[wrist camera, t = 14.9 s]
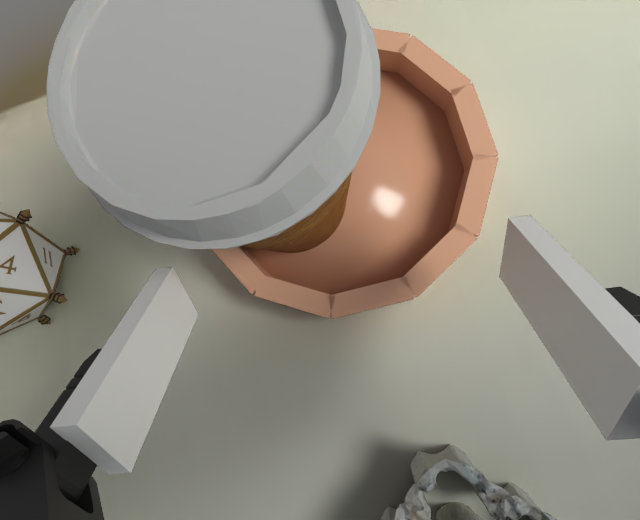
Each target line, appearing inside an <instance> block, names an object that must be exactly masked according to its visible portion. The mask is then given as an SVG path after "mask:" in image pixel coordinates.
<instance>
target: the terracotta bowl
mask: <svg viewBox="0 0 640 520" xmlns="http://www.w3.org/2000/svg"><path fill="white" fill-rule="evenodd" d="M372 30H373V32H374V36H375V41H376V45H377V50H378V55H379V59H380V98H379V102H378V107H377V112H376V116H375V121H374V125H373V129H372V132H371V135H370V137H369V139H368V141H367V143H366V145H365V147H364V149H363V152H362V154H361V156H360V158H359V160H358V162H357V164H356V166H355V168H354V169H353V171H352V175H351V180H350V185H349V190H348V195H347V200H346V206H345V211H344V215H343V218H342V220H341V222H340V224H339V226H338V227H337V229H336V230H335V232H334V233H333V234H332V235H331V236H330V237H329V238H328V239H327V240H326V241H324V242H323V243H321V244H320V245H318V246H317V247H315V248H312V249H310V250H307V251H303V252H298V253H283V252H277V251H270V250H264V249H258V248H251V247H245V246H239V247H236V248H232V249H212V250H213V252H214V253H215V254H216V255H217V256H218V257H219V258H220V259H221V260H222V262H223V263H224V264H225V265H226V266H227V267H228V268H229V269H230V271H231V272H232V273H233V274H234V275H235V276H236V277H237V278H238V280H239V281H240V282H241V283H242V284H243V285H244V286H245V287H246V288H247V290H248V291H249V292H250V293H251V294H255V295H254V296H256V297H260V298H263V299H266V300H269V301H273V302H276V303H279V304H283V305H286V306H289V307H293V308H296V309H299V310H302V311H306V312H309V313H312V314H316V315H319V316H322V317H326V318H329V319H330V318H333V319H334V318H338V317H342V316H346V315H350V314H354V313H358V312H363V311H367V310H371V309H375V308H379V307H383V306H387V305H391V304H395V303H400V302H404V301H408V300H412V299H414V298H416V297H418V296H419V295H420V294H421V293H422V292H423V291H424V290H425V289H426V288H427V287H428V286H429V285H430V284H431V283H432V282H433V281H434V280H435V279H436V278H437V277H438V276H439V275H440V274H442V273H443V272H444V271H445V270H446V269H447V268H448V267H449V266H450V265H451V264H452V263H453V262H454V261H455V260H456V259H457V258H458V257H459V256H460V255H461V254H462V253H463V252H464V251H465V250H466V249H467V248H468V247H469V246H470V245H471V244H472V243H473V242H474V241H475V240H476V239H477V238H476V237H478V236H479V234H480V230H481V226H482V222H483V218H484V214H485V210H486V206H487V202H488V198H489V194H490V189H491V185H492V181H493V177H494V173H495V169H496V165H497V161H498V158H497V157H496V156H497V155H498V153H497V150H496V147H495V144H494V141H493V138H492V136H491V133H490V130H489V127H488V124H487V122H486V119H485V116H484V113H483V110H482V107H481V105H480V102H479V99H478V96H477V93H476V91H475V88H474V85H473V83H472V84H470V81H471V80H470V79H468V78H467V77H466V76H465V75H463V74H462V73H461V72H459V71H458V70H457V69H456V68H454V67H453V66H452V65H450V64H449V63H448V62H447V61H445V60H444V59H443V58H442V57H440V56H439V55H438V54H436V53H435V52H434V51H433V50H431V49H430V48H429V47H427V46H426V45H425V44H424V43H422V42H421V41H420V40H418V39H417V38H416V37H415V36H412V37H411V38H410V34H406V33H400V32H393V31H386V30H379V29H373V28H372ZM409 38H410V39H409Z"/></svg>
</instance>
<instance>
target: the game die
mask: <svg viewBox="0 0 640 520" xmlns="http://www.w3.org/2000/svg"><path fill="white" fill-rule="evenodd" d="M17 218H18V219H17ZM17 218H15V217H12V216H10V215H7V214H5V213H3V212H0V335H1V334H3V333H6V332H8V331H10V330H12V329H15V328H17V327H19V326H22V325H24V324H26V323H28V322H31V321H33V320H35V319H38V320H39V321H38V322H41V324H50V318H49V317H47V316H46V315H42V314H43V313H44V311H45V309H46V308H47V306H48V304H49V303H50V301H51V300H52V301H55V302H58V303H61V302H65V301H67V299H66V298H65V296H64V294H60V293H55V290H56V287H57V283H58V280H59V276H60V273H61V269H62V266H63V262H64V259H65V256H66V255H72V254H75V255H76V253H77V252H78V250H79V248H75V247H73V246H72V247H71V248H69V247H68V248H67V249H66V250H63V249H61V248H60V247H58V246H57V245H56V244H54V243H53V242H51V241H50V240H49V239H47V238H46V237H44V236H43V235H42V234H40V233H39V232H37V231H36V230H35V229H33V228H32V227H30V226H29V225H28V224H26V223H25V222H26V221H29V218H32V216H31V215H30V210H29V209H28V210H24V211H20V213H19V214H18V216H17Z"/></svg>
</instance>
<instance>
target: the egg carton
mask: <svg viewBox="0 0 640 520" xmlns="http://www.w3.org/2000/svg"><path fill="white" fill-rule="evenodd" d="M410 468H411V471H412V475H413V478H414V481H415V484H413V485H412V487H411V488H410V490H409V491H408V493H407V495H406V497H405V502H404V503H401V504H399V506H398V508H397V509H394V508H392V507H389V506H388V507H387V508H386V510H385V512H384V514H383V515H382V517H381V519H380V520H431V509H430V507H429V505H428V503H427V501H426V499H425V496H424V493H423V491H425V492H429V491H430V490H431V489H432V490H435V488H436V486H437V483H436V476H437V474H438V472H440V471H443V472H446V471H450V470H454V471H456V472H457V473H459V474H460V475H461V476H462V477H463V478H464V479H465V480H466V481H468V482H469V483H471V484H472V486H473V488H474V490H475V491H476V493H477V495H478V497H479V498H480V499H481V501H482V502H483V503H484V505H485V506H486V508H487V510H488V511H489V513H490V514H491V515H492V516H493V517H495V518H496V519H498V520H505V518H506V517H510V518H511V519H512V520H518V519H519V518H520V517H521V516H522V515H528V516H529V517H530V519H531V520H557V519H556V518H554V517H552V516H551V515H549V514H548V513H545V512H542V511H541V509H540V508H539V507H538V506H537V505H536V504H535V503H534V502H533V500H532V499H531V498H530V497H529V495H528V493H527V492H525V491H524V490H523V489H521V488H519V487H517V486H516V485H515V484H513V483H510V482H509V483H508V484H507V485H506V486H505V487H504V488H501V487H499V486H497V485H495V484H493V483H491V482H489V481H487V480H486V479H485V477H484V475H483V474H482V473H480V472H479V471H478V470H477V469H475V468H474V466H473V465H472V463H471V462H470V460H469V458H468V457H467V455H466V454H465V453H464V452H463V451H461V450H460V449H458V448H457V447H455V446H454V445H451V444H449V445H448V446H447V447H446V448H445V449H444V450H442V451H441V452H438V453H436V454H429V453H425V452H422V451H418V452H417V454H416V455H415V457H414V459H413V461H412V463H411V465H410ZM478 517H479V516H478ZM478 517H477V515H476V514H475V513H474V512H473V511H472V509H471V508H470V507H468V506H466V505H464V504H461V503H456V502H453V503H447V504H445V505H443V506H442V507H440V509H439V510H438V511H437V513H436V515H435V520H479V519H478ZM479 518H480V517H479ZM480 519H481V518H480ZM481 520H482V519H481Z"/></svg>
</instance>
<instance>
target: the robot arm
mask: <svg viewBox="0 0 640 520" xmlns="http://www.w3.org/2000/svg"><path fill="white" fill-rule="evenodd" d="M499 277H500V278H501V280H502V281H503V283H504V284H505V286H506V287H507V289H508V290H509V292H510V294H511V295H512V297H513V298H514V300H515V301H516V303H517V304H518V306H519V307H520V309H521V310H522V312H523V313H524V315H525V317H526V318H527V320H528V321H529V323H530V324H531V326H532V327H533V329H534V330H535V332H536V333H537V335H538V336H539V338H540V340H541V341H542V343H543V344H544V346H545V347H546V349H547V350H548V352H549V353H550V355H551V356H552V358H553V359H554V361H555V363H556V364H557V366H558V367H559V369H560V370H561V372H562V373H563V375H564V376H565V378H566V379H567V381H568V382H569V384H570V386H571V387H572V389H573V390H574V392H575V393H576V395H577V396H578V398H579V399H580V401H581V402H582V404H583V405H584V407H585V409H586V410H587V412H588V413H589V415H590V416H591V418H592V419H593V421H594V422H595V424H596V425H597V427H598V428H599V430H600V432H601V433H602V435H603V436H604V438H605V439H606V440H619V439H634V438H640V297H639V296H637V295H635V294H633V293H631V292H630V291H628V290H626V289H624V288H622V287H614V288H606V289H605V288H604V287H603V286H602V285H601V284H600V283H599V282H598V281H597V280H596V279H595V278H594V277H593V276H592V275H591V274H590V273H589V272H588V271H587V270H586V269H585V268H584V267H583V266H582V265H581V264H580V263H578V262H577V261H576V260H575V259H574V258H573V257H572V256H571V255H570V254H569V253H568V252H567V251H566V250H565V249H564V248H563V247H562V246H561V245H560V244H559V243H558V242H557V241H556V240H555V239H554V238H553V237H552V236H551V235H550V234H549V233H548V232H547V231H546V230H545V229H544V228H543V227H542V226H541V225H540V224H539V223H538V222H537V221H536V220H535V219H534V218H533V217H532V216H531V215H526V216H519V217H512V218H508V224H507V230H506V237H505V243H504V250H503V256H502V263H501V269H500V275H499ZM197 317H198V313H197V311H196V309H195V307H194V305H193V303H192V302H191V300H190V298H189V296H188V294H187V292H186V291H185V289H184V287H183V285H182V283H181V281H180V280H179V278H178V276H177V274H176V272H175V270H174V269H173V267H168V268H161V269H155V270H154V272H153V273H152V275H151V276H150V278H149V279H148V281H147V282H146V284H145V285H144V287H143V288H142V290H141V291H140V293H139V294H138V296H137V297H136V299H135V300H134V302H133V303H132V305H131V306H130V308H129V309H128V311H127V312H126V314H125V315H124V317H123V318H122V320H121V321H120V323H119V324H118V326H117V327H116V329H115V330H114V332H113V333H112V335H111V336H110V338H109V339H108V341H107V342H106V344H105V345H104V347H103V348H102V349H97V350H96V351H95V352H94V353H93V354H92V355H91V356H90V357H89V358H88V359H87V360H85V361H84V362H83V364H82V365H81V367H80V368H79V370H78V371H77V373H76V374H75V375H74V379H72V380H71V381H70V383H69V384H68V385H67V387H66V388H67V389H66V390H64V391H63V393H62V394H61V396H60V397H59V398H58V400H57V401H56V403H55V404H54V406H53V407H52V408H51V410H50V411H49V413H48V414H47V416H46V417H45V419H44V420H43V421H42V423H41V424H40V426H39V427H38V429H37V430H36V431H35V433H34V432H33V431H32V430H30V429H29V428H28V427H26V426H25V425H24V424H22V423H21V422H20V421H17V420H14V419H12V420H7V421H3V422H1V423H0V520H104V517H103V512H102V507H101V502H100V497H99V493H98V488H97V483H96V481H95V480H94V478H93V477H91V476H92V474H93V472H94V470H95V468H96V466H98V467H99V468H100V469H101V470H103V471H104V472H105V473H106V474H123V473H131V472H132V469H133V467H134V465H135V462H136V460H137V458H138V455H139V453H140V450H141V448H142V446H143V443H144V441H145V439H146V436H147V434H148V432H149V429H150V427H151V425H152V422H153V420H154V418H155V415H156V413H157V411H158V408H159V406H160V404H161V401H162V399H163V396H164V394H165V392H166V389H167V387H168V385H169V382H170V380H171V378H172V375H173V373H174V371H175V368H176V366H177V364H178V361H179V359H180V357H181V354H182V352H183V350H184V347H185V345H186V342H187V340H188V338H189V335H190V333H191V331H192V328H193V326H194V324H195V321H196V319H197Z"/></svg>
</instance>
